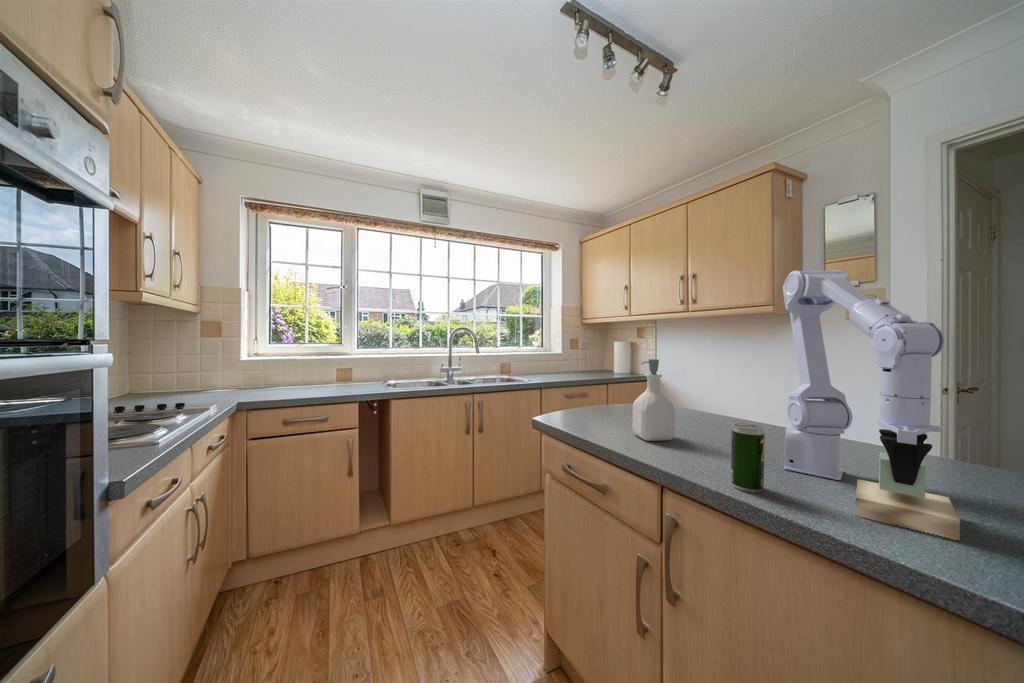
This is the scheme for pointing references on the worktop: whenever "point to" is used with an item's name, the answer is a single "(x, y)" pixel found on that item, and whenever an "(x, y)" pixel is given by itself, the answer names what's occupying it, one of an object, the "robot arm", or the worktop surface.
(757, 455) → the green soda can
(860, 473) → the worktop surface
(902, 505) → the birch plinth
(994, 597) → the worktop surface
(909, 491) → the sage cube
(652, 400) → the soap bottle
